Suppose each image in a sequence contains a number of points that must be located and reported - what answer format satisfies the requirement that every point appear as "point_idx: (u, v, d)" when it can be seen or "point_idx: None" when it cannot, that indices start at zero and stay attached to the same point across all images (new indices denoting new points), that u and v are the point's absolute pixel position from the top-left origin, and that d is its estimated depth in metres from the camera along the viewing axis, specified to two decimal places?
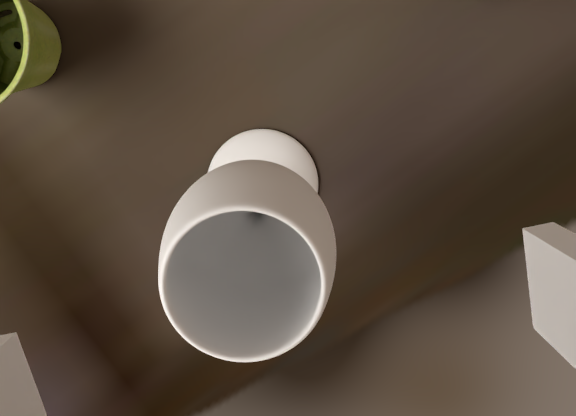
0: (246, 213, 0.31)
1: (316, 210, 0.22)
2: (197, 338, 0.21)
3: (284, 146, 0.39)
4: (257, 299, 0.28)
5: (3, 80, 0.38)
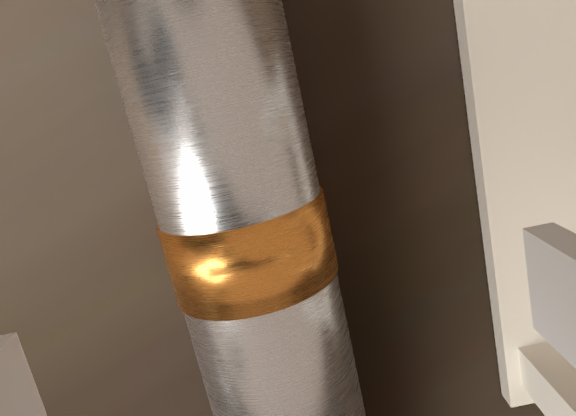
0: None
1: None
2: None
3: None
4: None
5: None
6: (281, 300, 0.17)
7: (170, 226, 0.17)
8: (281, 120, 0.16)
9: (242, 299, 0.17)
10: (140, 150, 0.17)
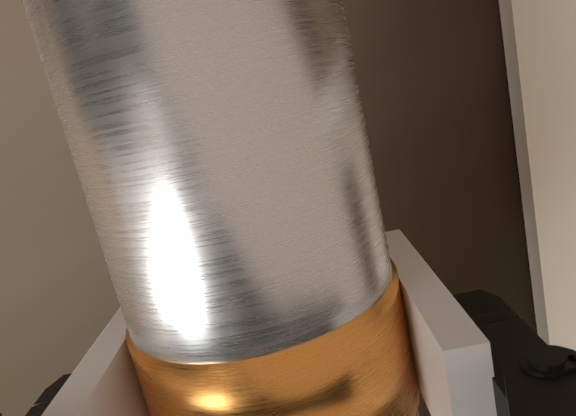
0: None
1: None
2: None
3: None
4: None
5: None
6: None
7: (158, 346, 0.10)
8: (353, 154, 0.09)
9: None
10: (99, 213, 0.09)
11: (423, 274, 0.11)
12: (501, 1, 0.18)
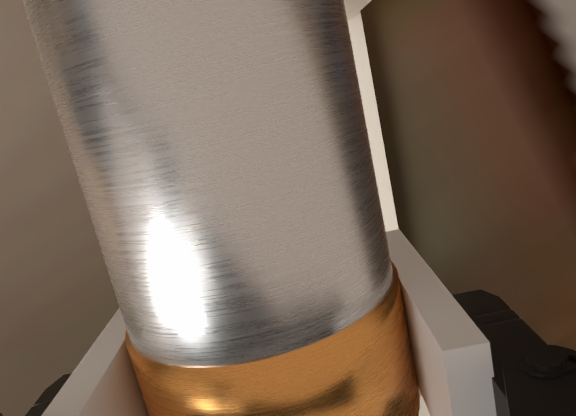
0: None
1: None
2: None
3: None
4: None
5: None
6: None
7: (158, 349, 0.09)
8: (354, 157, 0.09)
9: None
10: (99, 216, 0.09)
11: (423, 274, 0.11)
12: None
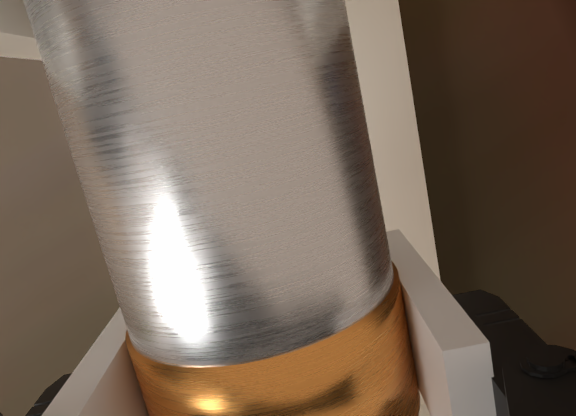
0: None
1: None
2: None
3: None
4: None
5: None
6: None
7: (159, 349, 0.09)
8: (355, 157, 0.09)
9: None
10: (100, 215, 0.09)
11: (423, 274, 0.11)
12: None
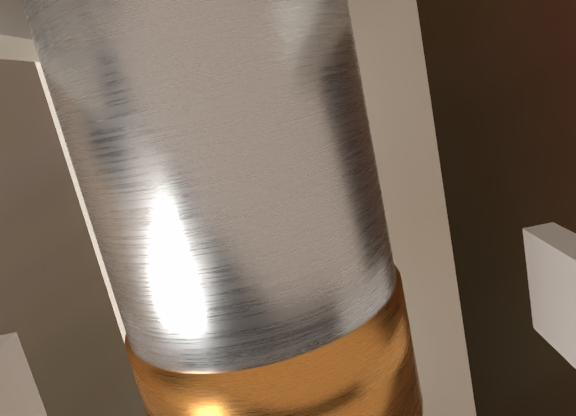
0: None
1: None
2: None
3: None
4: None
5: None
6: None
7: (158, 354, 0.09)
8: (358, 160, 0.09)
9: None
10: (98, 219, 0.09)
11: None
12: None
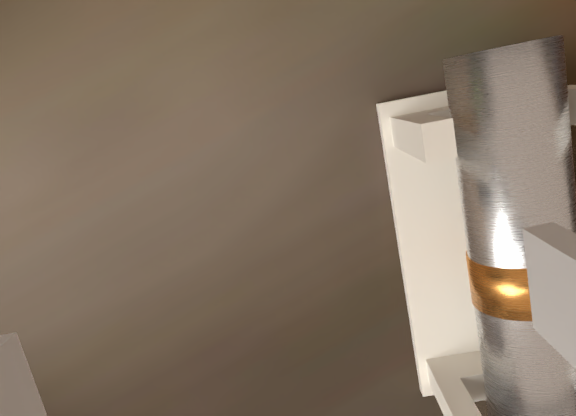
0: None
1: None
2: None
3: None
4: None
5: None
6: None
7: (506, 263, 0.28)
8: (575, 199, 0.28)
9: None
10: (488, 217, 0.28)
11: None
12: (384, 153, 0.36)
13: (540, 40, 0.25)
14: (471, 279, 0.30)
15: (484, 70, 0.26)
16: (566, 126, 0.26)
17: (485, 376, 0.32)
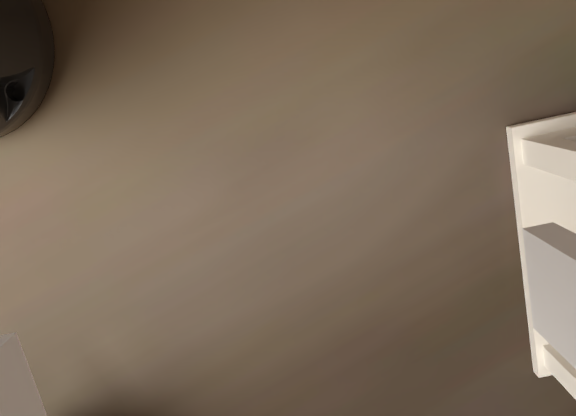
0: None
1: None
2: None
3: None
4: None
5: None
6: None
7: None
8: None
9: None
10: None
11: None
12: (512, 169, 0.41)
13: None
14: None
15: None
16: None
17: None
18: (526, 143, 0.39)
